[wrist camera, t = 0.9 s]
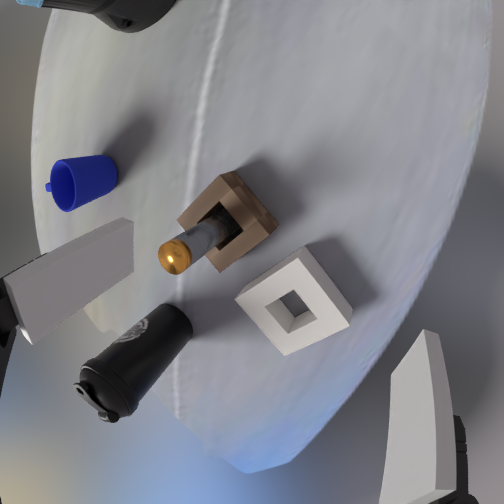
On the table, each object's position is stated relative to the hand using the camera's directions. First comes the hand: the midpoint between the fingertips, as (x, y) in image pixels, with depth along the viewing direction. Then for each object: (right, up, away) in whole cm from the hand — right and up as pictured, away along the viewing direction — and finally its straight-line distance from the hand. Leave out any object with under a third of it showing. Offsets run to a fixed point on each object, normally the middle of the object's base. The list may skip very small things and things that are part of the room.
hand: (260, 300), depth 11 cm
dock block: (+6, -4, +28) cm, 29 cm away
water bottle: (-15, -11, +40) cm, 44 cm away
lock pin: (-3, +6, +27) cm, 28 cm away
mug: (-27, +16, +33) cm, 46 cm away
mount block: (-3, +6, +27) cm, 28 cm away
